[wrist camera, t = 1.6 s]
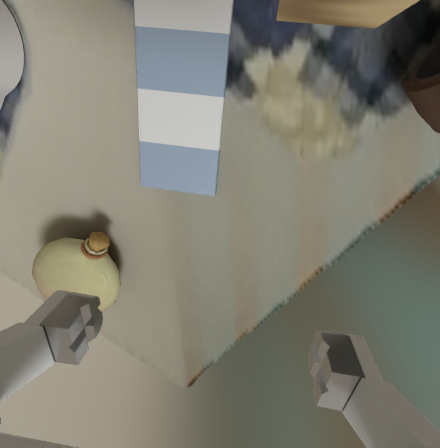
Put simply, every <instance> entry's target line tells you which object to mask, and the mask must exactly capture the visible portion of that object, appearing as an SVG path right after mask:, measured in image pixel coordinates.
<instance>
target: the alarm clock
mask: <svg viewBox="0 0 440 448" xmlns="http://www.w3.org/2000/svg"><path fill="white" fill-rule="evenodd" d="M402 85H403V86H405V89H406V91H407V93H408V95H409V97H410V99H411V101H412V103H413V105H414V107H415V109H416V111H417V112H418V113H419V115H420V116H421V117H422V118H423V119H424V120H425V121H426V122H427V123H428V124H429V125H430V127H431V128H432V129H433V130H434V131H435V132H438V133H440V44H439V45H438V46H437V47H436V48H435V49H434V50H432V51H431V52H430V53H429V54H428V55H427V56H426V57H425V58H424V59H423V60H422V61H421V62H420V64H419V65H418V66H417V67H416V68H415V70H414V71H413V73H412V75H411V76H410V78H409V79H408V80H404V81H403V82H402Z"/></svg>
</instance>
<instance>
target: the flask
mask: <svg viewBox="0 0 440 448" xmlns="http://www.w3.org/2000/svg"><path fill="white" fill-rule="evenodd" d="M109 244H110V238H109V237H108V236H107V235H106V234H105V233H102V232H100V231H99V232H92V233H90V237H89V238H87V239H86V240H81V239H74V238H62V239H58V240H55V241H52V242H50V243H47V244H45V245H44V247H43V248H42V249H41V250H40V251H39V252H38V254H37V255H36V257H35V259H34V262H33V268H32V275H33V278H34V281H35V283H36V285H37V287H38V290H39V292H40V293H41V294H42V295H43V296H44V297H45V298H46V299H48V298H49V297H50V296H51V295H52V294H53V293H54V292H56V291H58V290H63V291H69V292H76V293H81V294H87V295H92V296H97V297H99V299H100V303H101V304H100V306H99V307H98V309H99V310H100V311H101V312H103V311H105V310H106V309H108V308H109V307H110V306H111V305H112V304H114V303H115V302H116V299H117V296H118V294H119V291H120V286H121V281H120V275H119V270H118V268H117V266H116V264H115V263H114V262H113V260H112V259H111V258H110V255H109V252H108V246H109Z"/></svg>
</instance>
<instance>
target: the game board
mask: <svg viewBox="0 0 440 448" xmlns="http://www.w3.org/2000/svg"><path fill="white" fill-rule="evenodd" d="M233 4H234V0H134V8H135V35H136V62H137V88H138V115H139V142H140V169H141V186H144V187H151V188H159V189H166V190H173V191H180V192H188V193H195V194H202V195H210V196H215V195H216V187H217V176H218V166H219V155H220V144H221V133H222V123H223V112H224V101H225V90H226V80H227V69H228V58H229V47H230V37H231V26H232V15H233Z"/></svg>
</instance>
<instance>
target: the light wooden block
mask: <svg viewBox="0 0 440 448" xmlns="http://www.w3.org/2000/svg"><path fill="white" fill-rule="evenodd" d="M418 1H419V0H279V7H278V13H277V20H276V21H288V22H301V23H313V24H326V25H339V26H351V27H364V28H377V27H378V26H380V25H382V24H383V23H385V22H386V21H388V20H389V19H391V18H393V17H394V16H396V15H397V14H399V13H400V12H402V11H404V10H405V9H407V8H408V7H410V6H411V5H413V4H415V3H416V2H418Z"/></svg>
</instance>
